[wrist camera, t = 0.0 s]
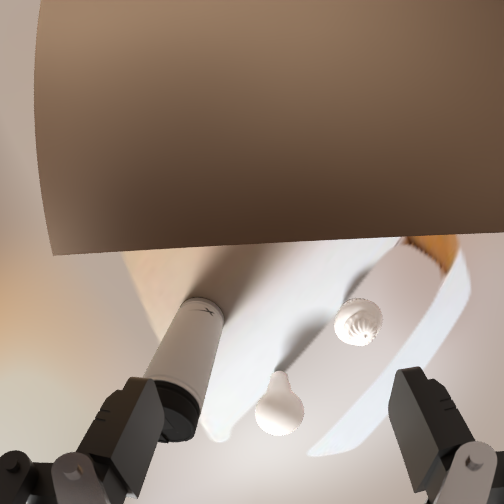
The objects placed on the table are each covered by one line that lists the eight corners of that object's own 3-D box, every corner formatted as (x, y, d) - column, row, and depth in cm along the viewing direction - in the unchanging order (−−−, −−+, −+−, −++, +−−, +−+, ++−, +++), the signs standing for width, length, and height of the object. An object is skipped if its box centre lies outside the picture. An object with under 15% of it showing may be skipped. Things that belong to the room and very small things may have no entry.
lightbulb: (257, 357, 44) (253, 413, 33) (301, 357, 43) (307, 412, 33) (257, 389, 46) (254, 444, 35) (298, 389, 45) (303, 444, 35)
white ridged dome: (320, 306, 41) (328, 336, 34) (359, 279, 39) (375, 304, 33) (345, 337, 42) (356, 368, 35) (382, 311, 41) (399, 339, 34)
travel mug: (211, 288, 41) (168, 397, 22) (231, 330, 43) (206, 448, 24) (169, 302, 42) (107, 405, 23) (190, 342, 44) (147, 453, 25)
